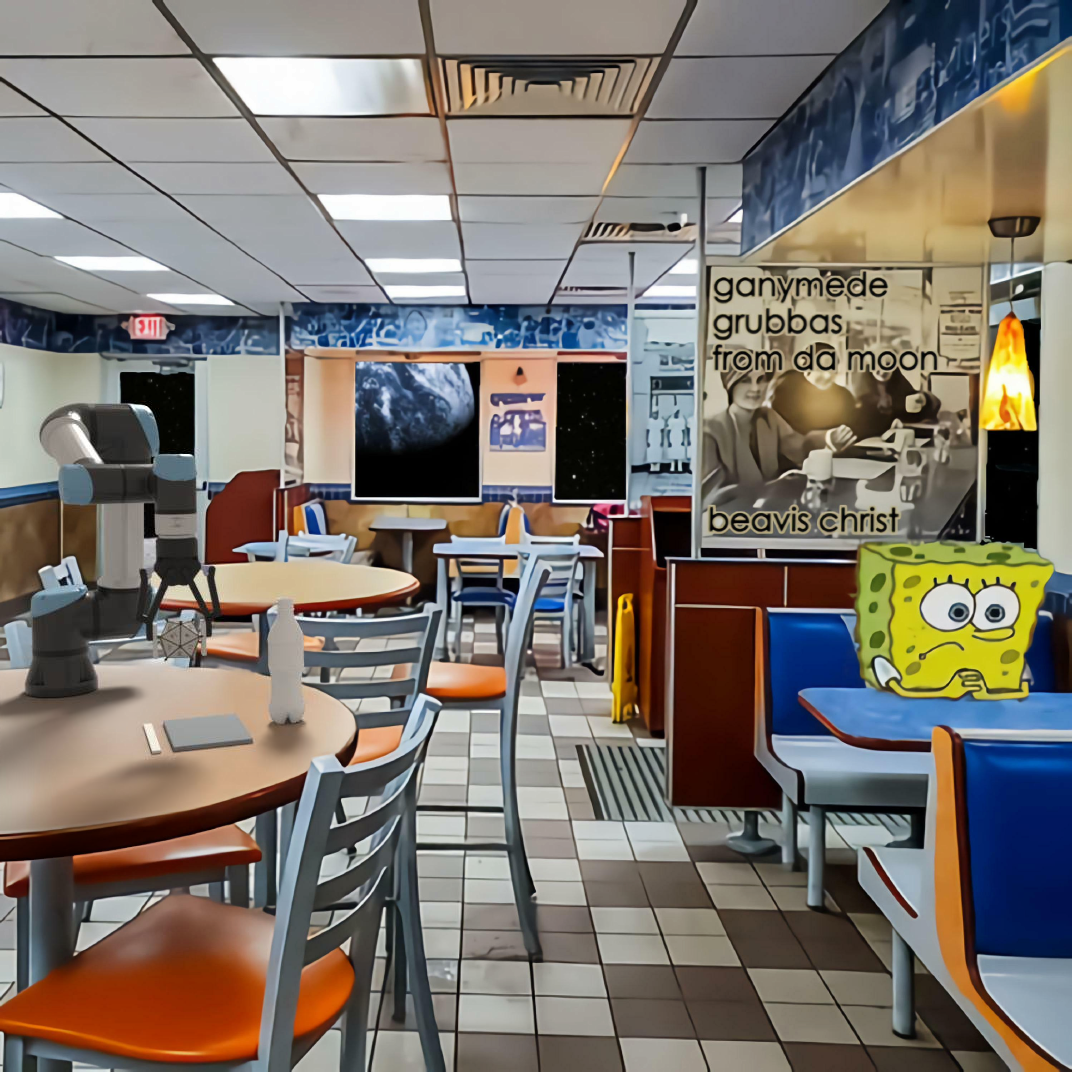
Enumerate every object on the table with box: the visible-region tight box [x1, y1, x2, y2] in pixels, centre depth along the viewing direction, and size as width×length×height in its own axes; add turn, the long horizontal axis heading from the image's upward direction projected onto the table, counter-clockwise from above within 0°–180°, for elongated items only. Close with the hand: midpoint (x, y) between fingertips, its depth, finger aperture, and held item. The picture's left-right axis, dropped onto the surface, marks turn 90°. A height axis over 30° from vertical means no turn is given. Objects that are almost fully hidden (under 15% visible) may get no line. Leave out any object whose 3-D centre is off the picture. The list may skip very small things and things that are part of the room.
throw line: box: [143, 722, 162, 755], centre depth 199 cm, size 20×2×1 cm, turn 25°
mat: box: [163, 713, 254, 752], centre depth 203 cm, size 20×14×1 cm
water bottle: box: [267, 596, 306, 725], centre depth 212 cm, size 7×7×25 cm
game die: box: [156, 617, 204, 662], centre depth 199 cm, size 9×8×10 cm
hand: (179, 655), depth 200 cm, fingers closed on game die, 8 cm apart
